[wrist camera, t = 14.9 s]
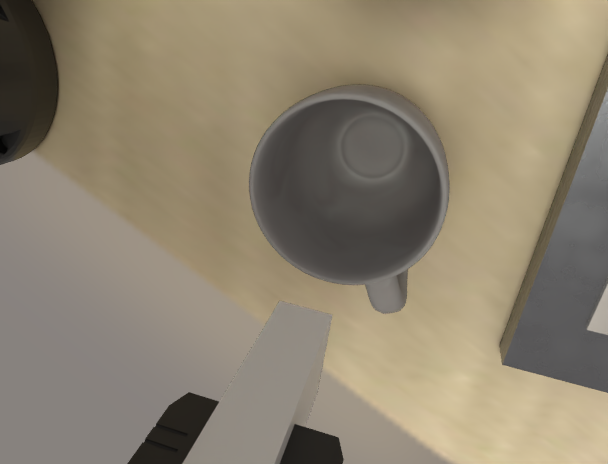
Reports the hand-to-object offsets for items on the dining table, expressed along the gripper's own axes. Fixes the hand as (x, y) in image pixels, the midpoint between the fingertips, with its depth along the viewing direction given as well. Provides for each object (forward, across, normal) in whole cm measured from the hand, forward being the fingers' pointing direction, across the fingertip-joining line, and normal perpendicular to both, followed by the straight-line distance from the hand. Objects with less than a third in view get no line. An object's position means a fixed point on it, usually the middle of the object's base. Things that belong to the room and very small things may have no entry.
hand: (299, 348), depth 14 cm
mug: (+19, 0, 0) cm, 19 cm away
